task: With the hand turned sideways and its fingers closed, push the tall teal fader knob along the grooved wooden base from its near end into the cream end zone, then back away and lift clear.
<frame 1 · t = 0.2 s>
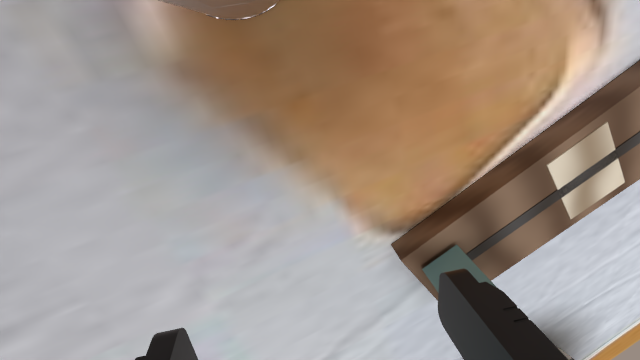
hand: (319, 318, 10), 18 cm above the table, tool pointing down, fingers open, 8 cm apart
fader: (497, 329, 26), point 10 cm above the table, slide at 0.0 cm
grooved wooden base: (525, 191, 33), on the table
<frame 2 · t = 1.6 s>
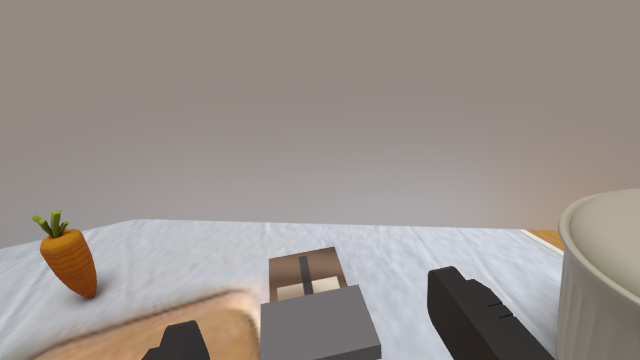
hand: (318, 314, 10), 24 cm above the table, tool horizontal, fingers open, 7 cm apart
grooved wooden base: (317, 344, 36), on the table
carrot: (92, 297, 48), on the table
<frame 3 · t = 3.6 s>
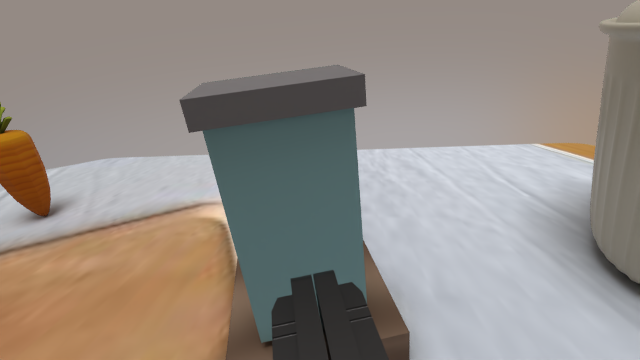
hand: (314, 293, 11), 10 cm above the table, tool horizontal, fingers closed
fader: (294, 210, 17), point 10 cm above the table, slide at 0.0 cm
grooved wooden base: (299, 240, 30), on the table
carrot: (46, 217, 42), on the table
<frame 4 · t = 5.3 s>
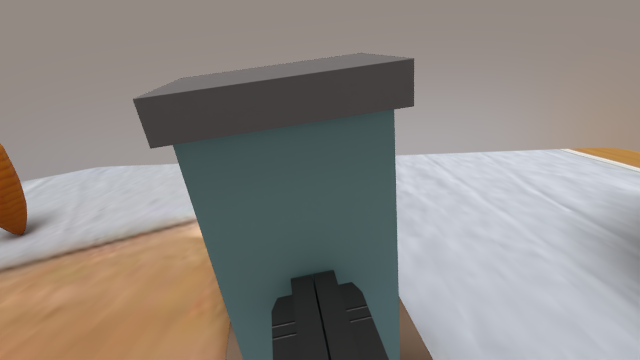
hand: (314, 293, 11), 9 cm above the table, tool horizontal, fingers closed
fader: (305, 245, 13), point 10 cm above the table, slide at 0.5 cm, touching gripper
grooved wooden base: (306, 266, 26), on the table
carrot: (22, 235, 38), on the table
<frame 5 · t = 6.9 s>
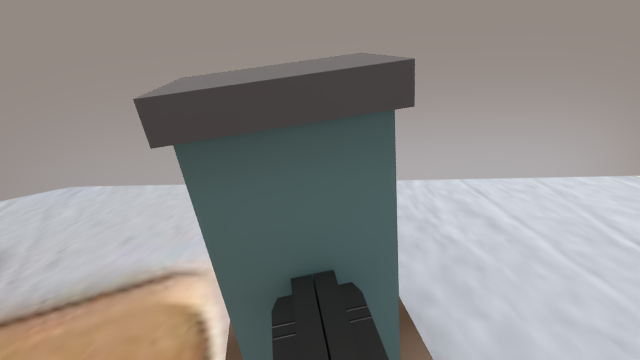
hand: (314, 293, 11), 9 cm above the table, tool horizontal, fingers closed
fader: (305, 245, 13), point 10 cm above the table, slide at 9.6 cm, touching gripper
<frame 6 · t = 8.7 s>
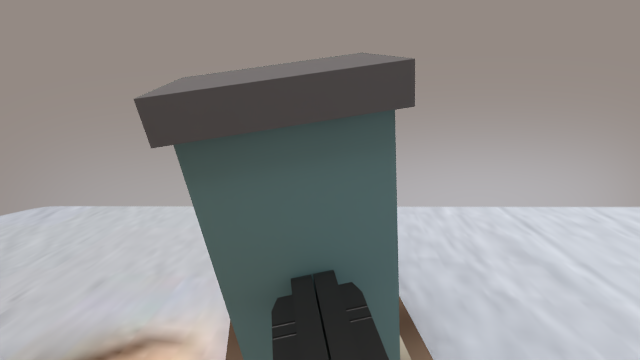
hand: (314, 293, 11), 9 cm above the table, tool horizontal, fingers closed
fader: (305, 244, 13), point 10 cm above the table, slide at 16.4 cm, touching gripper
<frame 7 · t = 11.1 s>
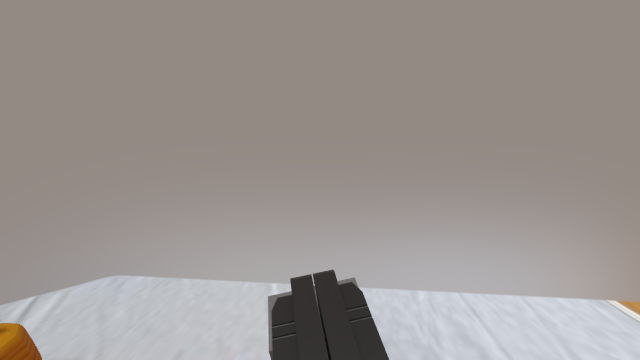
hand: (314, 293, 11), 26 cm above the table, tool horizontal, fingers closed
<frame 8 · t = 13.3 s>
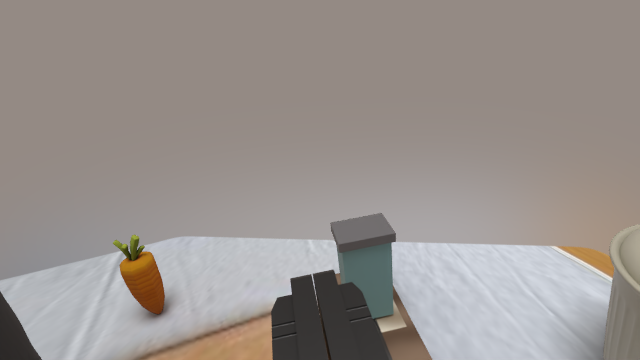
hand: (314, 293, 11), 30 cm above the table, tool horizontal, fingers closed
fader: (364, 270, 41), point 10 cm above the table, slide at 16.5 cm
grooved wooden base: (381, 357, 40), on the table
carrot: (159, 314, 52), on the table
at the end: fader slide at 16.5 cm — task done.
